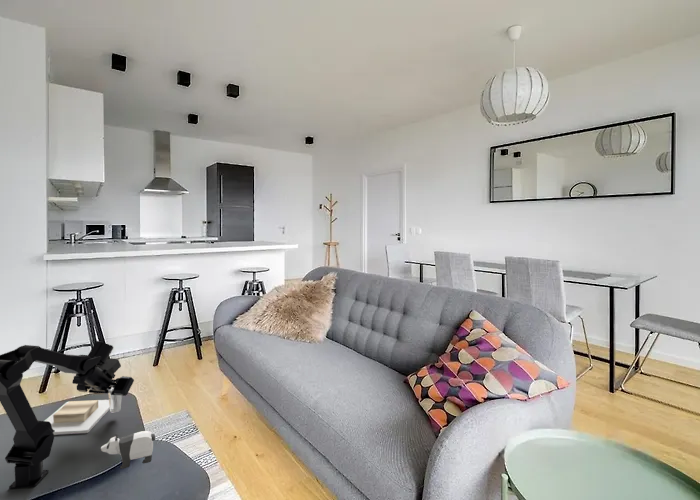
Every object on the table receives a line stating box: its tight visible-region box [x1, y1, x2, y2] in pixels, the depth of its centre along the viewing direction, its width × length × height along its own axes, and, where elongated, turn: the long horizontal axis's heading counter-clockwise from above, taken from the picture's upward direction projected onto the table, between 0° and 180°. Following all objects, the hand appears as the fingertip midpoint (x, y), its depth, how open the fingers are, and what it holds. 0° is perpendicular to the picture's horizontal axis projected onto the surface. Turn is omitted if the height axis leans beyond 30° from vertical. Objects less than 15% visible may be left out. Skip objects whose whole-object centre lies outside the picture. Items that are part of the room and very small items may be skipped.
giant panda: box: [99, 430, 156, 470], centre depth 113 cm, size 15×6×10 cm, turn 117°
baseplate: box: [44, 399, 110, 436], centre depth 137 cm, size 22×18×1 cm
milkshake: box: [107, 388, 123, 414], centre depth 137 cm, size 4×5×10 cm
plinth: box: [53, 399, 99, 423], centre depth 137 cm, size 10×10×3 cm
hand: (117, 392), depth 138 cm, fingers closed on milkshake, 4 cm apart
